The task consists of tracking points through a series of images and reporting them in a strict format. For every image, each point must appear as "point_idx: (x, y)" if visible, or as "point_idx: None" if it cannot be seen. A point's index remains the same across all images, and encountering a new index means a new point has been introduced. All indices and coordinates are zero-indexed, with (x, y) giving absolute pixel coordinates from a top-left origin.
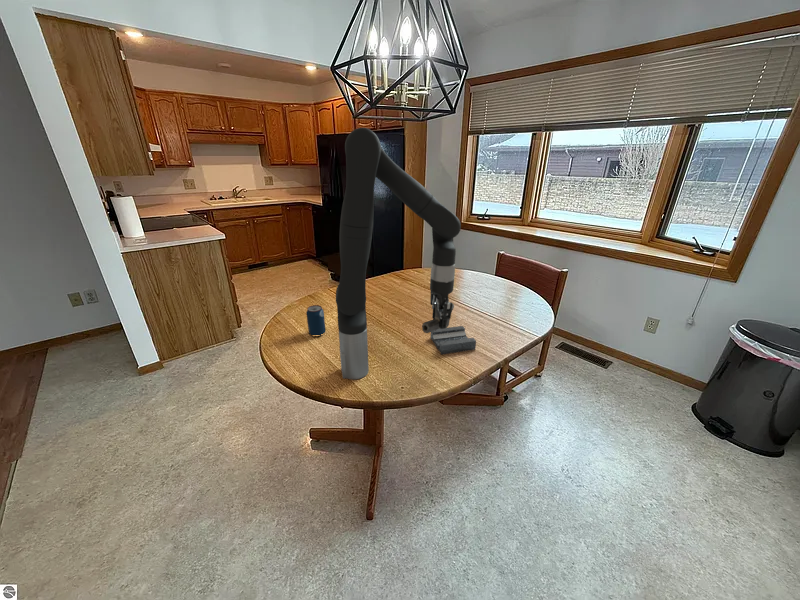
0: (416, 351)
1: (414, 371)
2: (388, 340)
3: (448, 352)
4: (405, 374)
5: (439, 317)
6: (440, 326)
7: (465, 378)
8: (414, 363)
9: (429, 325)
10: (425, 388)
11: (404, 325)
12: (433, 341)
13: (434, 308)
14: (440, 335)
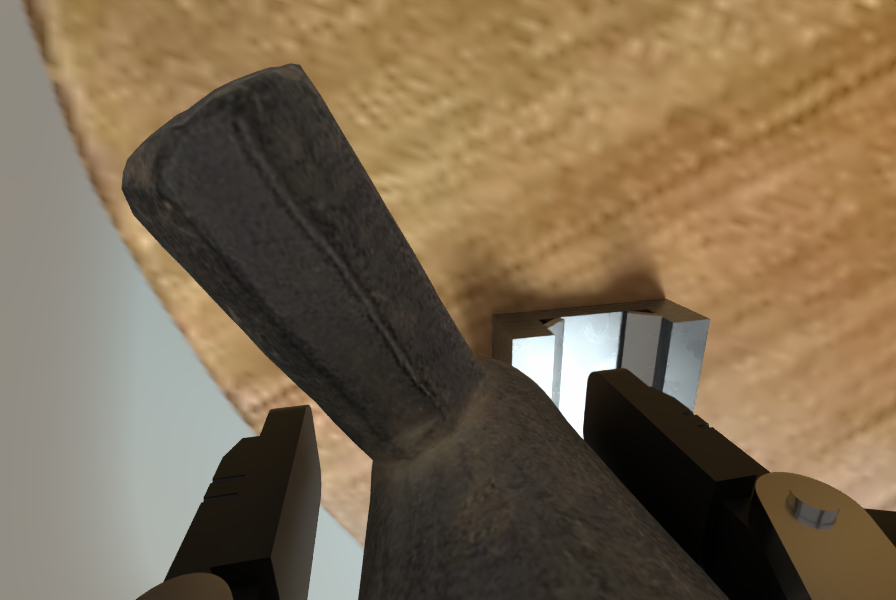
0: (563, 175)
1: (352, 95)
2: (743, 10)
3: (494, 358)
4: (327, 17)
5: (394, 524)
6: (266, 432)
7: (246, 379)
8: (440, 122)
9: (153, 218)
10: (157, 115)
11: (853, 178)
12: (623, 305)
13: (750, 524)
14: (644, 359)
